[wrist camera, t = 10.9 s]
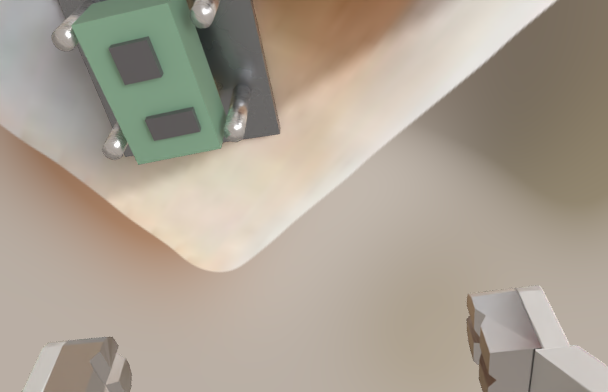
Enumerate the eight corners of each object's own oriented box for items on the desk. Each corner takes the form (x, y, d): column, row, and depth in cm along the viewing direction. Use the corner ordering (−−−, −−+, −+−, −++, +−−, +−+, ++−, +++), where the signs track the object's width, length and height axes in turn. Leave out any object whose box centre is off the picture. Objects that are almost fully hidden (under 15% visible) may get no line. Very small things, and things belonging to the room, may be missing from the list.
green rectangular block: (91, 3, 35) (67, 29, 32) (180, -18, 35) (165, 6, 31) (151, 135, 41) (136, 169, 38) (227, 119, 40) (220, 153, 37)
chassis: (43, -51, 37) (-3, -21, 31) (233, -87, 35) (220, -63, 30) (128, 150, 46) (104, 200, 41) (280, 127, 45) (277, 176, 39)
